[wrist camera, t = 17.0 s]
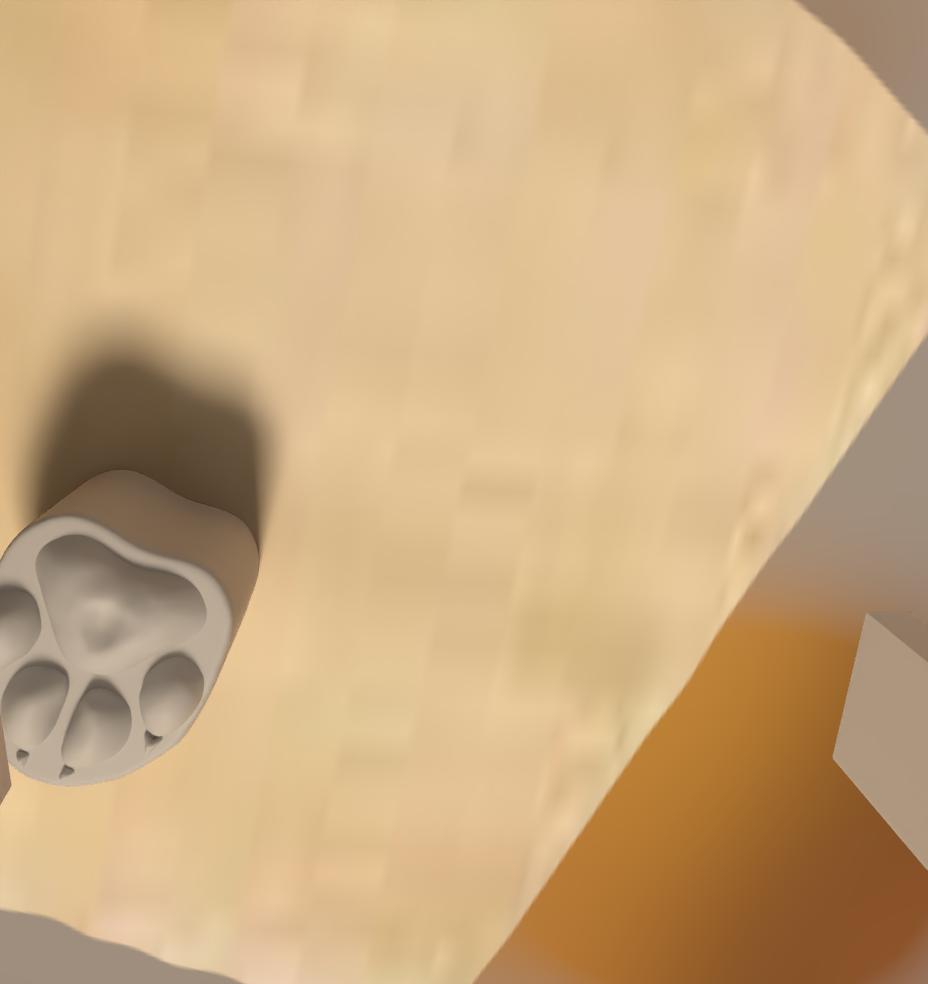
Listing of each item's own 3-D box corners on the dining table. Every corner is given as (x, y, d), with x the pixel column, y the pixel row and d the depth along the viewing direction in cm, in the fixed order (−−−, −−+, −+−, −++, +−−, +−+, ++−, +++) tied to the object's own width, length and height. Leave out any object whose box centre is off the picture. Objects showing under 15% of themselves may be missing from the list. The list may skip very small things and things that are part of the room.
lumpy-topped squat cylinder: (283, 535, 43) (254, 604, 35) (185, 738, 46) (137, 846, 38) (85, 448, 42) (6, 499, 33) (-4, 664, 44) (-98, 762, 36)
